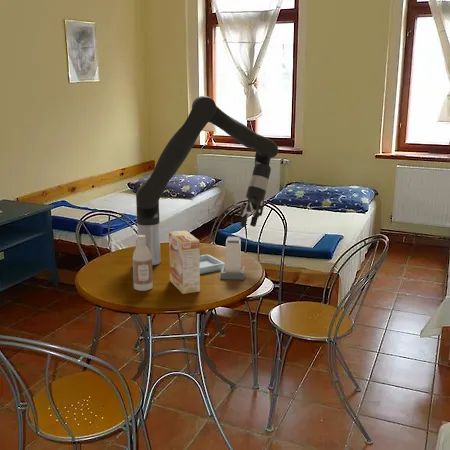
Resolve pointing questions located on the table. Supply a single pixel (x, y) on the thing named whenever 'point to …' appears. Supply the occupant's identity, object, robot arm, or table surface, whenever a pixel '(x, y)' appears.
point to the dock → (232, 274)
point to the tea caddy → (233, 254)
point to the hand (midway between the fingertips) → (247, 226)
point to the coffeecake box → (184, 261)
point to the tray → (210, 264)
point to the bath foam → (142, 266)
